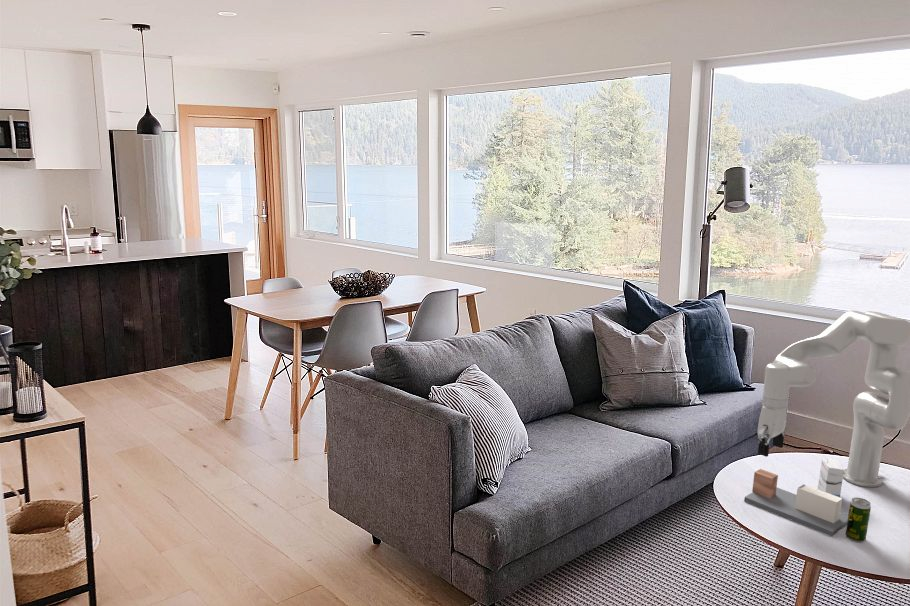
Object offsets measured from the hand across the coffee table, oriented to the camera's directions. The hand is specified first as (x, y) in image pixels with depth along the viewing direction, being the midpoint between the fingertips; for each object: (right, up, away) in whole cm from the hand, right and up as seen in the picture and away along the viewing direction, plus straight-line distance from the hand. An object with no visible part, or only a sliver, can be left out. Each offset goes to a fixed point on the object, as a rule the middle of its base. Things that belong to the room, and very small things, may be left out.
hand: (770, 450), depth 241 cm
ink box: (+21, -16, +5) cm, 27 cm away
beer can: (+16, -22, -21) cm, 35 cm away
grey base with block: (+6, -18, -5) cm, 20 cm away
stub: (-1, -15, +3) cm, 15 cm away
